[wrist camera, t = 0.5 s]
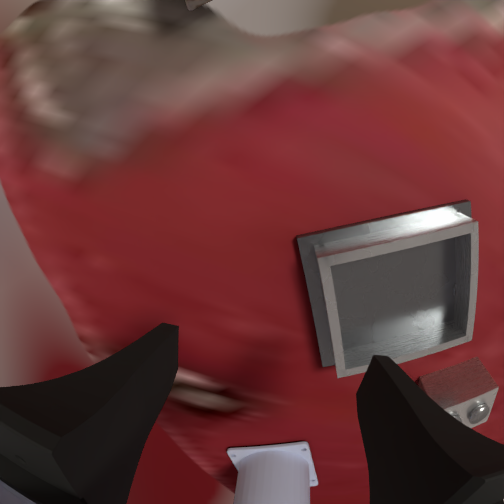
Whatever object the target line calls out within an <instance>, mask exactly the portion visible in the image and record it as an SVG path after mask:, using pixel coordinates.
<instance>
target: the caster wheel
mask: <svg viewBox="0 0 504 504" xmlns="http://www.w3.org/2000/svg"><path fill="white" fill-rule="evenodd" d="M210 1H212V0H185V2H186V5H187V9H188V10H190V11H192V10H194V9H196V8H198V7H200V6H202V5H204V4H206V3H208V2H210Z"/></svg>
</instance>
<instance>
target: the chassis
mask: <svg viewBox="0 0 504 504" xmlns="http://www.w3.org/2000/svg"><path fill="white" fill-rule="evenodd" d="M297 241H298V246H299V250H300V255H301V259H302V264H303V269H304V273H305V278H306V283H307V288H308V292H309V297H310V302H311V307H312V312H313V317H314V323H315V328H316V333H317V338H318V344H319V349H320V355H321V360H322V366H323V367H326V366H331V365H335V367H336V372H337V378H340V377H345V376H350V375H354V374H359V373H363V372H366V371H367V369H368V366H369V364H370V361H371V359H372V357H373V355H383V356H388V357H390V358H391V359H392V360H393V361H394V362H395V363H396V364H399V363H402V362H406V361H409V360H413V359H416V358H420V357H423V356H426V355H429V354H433V353H436V352H439V351H442V350H445V349H448V348H451V347H454V346H457V345H460V344H462V343H465V342H468V341H471V340H472V334H473V327H474V318H475V309H476V297H477V282H478V221H476V220H474V219H472V218H471V202H470V201H469V200H461V201H456V202H451V203H447V204H442V205H437V206H432V207H428V208H423V209H418V210H413V211H409V212H404V213H399V214H394V215H390V216H385V217H380V218H376V219H371V220H366V221H362V222H357V223H352V224H348V225H343V226H338V227H334V228H329V229H324V230H320V231H315V232H311V233H306V234H301V235H297Z"/></svg>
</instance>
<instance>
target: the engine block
mask: <svg viewBox="0 0 504 504" xmlns="http://www.w3.org/2000/svg"><path fill="white" fill-rule="evenodd" d="M418 386H419V387H420V388H421V389H422V390H423V391H424V392H425V393H426V394H427V395H428V396H429V397H430V398H431V399H432V400H434V401H435V402H436V403H437V404H438V405H439V406H440V407H442V408H443V409H444V410H445V411H446V412H448V413H449V414H450V415H452V416H453V417H455V418H456V419H457V420H459V421H460V422H462V423H463V424H465V425H466V426H468V427H469V428H472V427H475V426H477V425H479V424H481V423H484V422H486V421H487V419H488V417H489V414H490V411H491V408H492V406H493V403H494V400H495V397H496V394H497V391H498V385H497V384H496V383H495V381H494V380H493V378H492V377H491V375H490V374H489V372H488V371H487V370H486V368H485V367H484V365H483V364H482V362H481V361H480V360H479V358H478V357H475V358H472V359H470V360H467V361H464V362H462V363H459V364H456V365H453V366H450V367H448V368H445V369H442V370H439V371H436V372H433V373H429V374H426V375H423V376H420V377H419V385H418Z"/></svg>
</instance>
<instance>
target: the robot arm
mask: <svg viewBox="0 0 504 504" xmlns="http://www.w3.org/2000/svg"><path fill="white" fill-rule="evenodd" d="M178 330H179V326H176V325H171V324H166V323H162V324H160V325H159V326H157V327H156V328H154V329H153V330H151V331H150V332H148V333H147V334H145V335H144V336H142V337H141V338H139V339H138V340H136V341H135V342H133V343H132V344H130V345H129V346H127V347H126V348H124V349H122V350H121V351H119V352H117V353H115V354H114V355H112V356H110V357H108V358H106V359H105V360H103V361H101V362H99V363H96V364H94V365H92V366H90V367H87V368H85V369H83V370H80V371H77V372H74V373H71V374H69V375H65V376H63V377H60V378H56V379H52V380H49V381H44V382H39V383H34V384H28V385H21V386H11V387H0V504H126V503H127V499H128V496H129V492H130V488H131V485H132V481H133V478H134V475H135V472H136V469H137V465H138V462H139V459H140V456H141V453H142V450H143V448H144V444H145V442H146V440H147V438H148V435H149V433H150V431H151V429H152V427H153V425H154V423H155V421H156V419H157V417H158V415H159V413H160V411H161V409H162V407H163V405H164V403H165V401H166V399H167V397H168V395H169V393H170V391H171V388H172V385H173V382H174V379H175V376H176V373H177V370H178ZM356 398H357V412H358V419H359V424H360V429H361V434H362V438H363V443H364V448H365V453H366V458H367V463H368V470H369V485H370V504H504V501H503V499H504V445H503V444H500V443H498V442H496V441H494V440H492V439H489V438H487V437H485V436H483V435H481V434H480V433H478V432H476V431H474V430H473V429H471V428H469V427H468V426H466V425H465V424H463V423H462V422H460V421H459V420H457V419H456V418H455V417H453V416H452V415H450V414H449V413H448V412H446V411H445V410H444V409H443V408H442V407H440V406H439V405H438V404H437V403H436V402H435V401H434V400H432V399H431V398H430V397H429V396H428V395H427V394H426V393H425V392H424V391H423V390H422V389H421V388H420V387H419V386H418V385H417V384H416V383H415V382H414V381H413V380H412V379H411V378H410V377H409V376H408V375H407V374H406V373H405V372H404V371H403V370H402V369H401V368H400V367H399V366H398V365H397V364H396V363H395V362H394V361H393V360H392V359H391V358H390V357H388V356H383V355H373V357H372V359H371V361H370V364H369V366H368V369H367V371H366V373H365V375H364V378H363V380H362V382H361V384H360V387H359V389H358V391H357V393H356ZM227 453H228V455H229V457H230V459H231V460H232V462H233V464H234V465H235V467H236V469H237V470H238V478H237V484H236V490H235V497H234V503H233V504H310V486H316V485H317V484H318V480H317V476H316V472H315V468H314V464H313V460H312V456H311V452H310V448H309V444H308V443H307V442H305V441H302V442H295V443H287V444H277V445H267V446H255V447H238V448H229V449H228V450H227Z"/></svg>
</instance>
